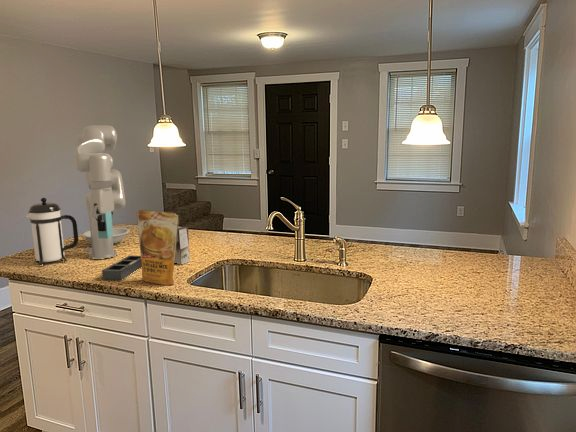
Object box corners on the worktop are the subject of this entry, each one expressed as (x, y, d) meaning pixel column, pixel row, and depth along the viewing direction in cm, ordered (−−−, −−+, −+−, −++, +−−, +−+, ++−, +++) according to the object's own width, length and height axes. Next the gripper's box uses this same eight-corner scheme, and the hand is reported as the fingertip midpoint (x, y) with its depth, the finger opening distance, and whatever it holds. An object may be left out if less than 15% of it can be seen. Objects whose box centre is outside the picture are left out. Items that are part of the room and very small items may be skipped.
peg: (98, 238, 182) (96, 211, 180) (104, 235, 186) (102, 209, 184) (107, 238, 181) (105, 211, 179) (113, 236, 185) (110, 210, 183)
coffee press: (55, 267, 197) (48, 200, 192) (24, 266, 200) (16, 199, 195) (81, 257, 214) (74, 194, 208) (52, 255, 217) (45, 194, 211)
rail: (102, 279, 179) (101, 269, 178) (129, 264, 200) (128, 255, 200) (121, 280, 178) (120, 270, 177) (146, 264, 199) (145, 255, 199)
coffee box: (191, 261, 203) (189, 227, 200) (181, 265, 197) (179, 229, 194) (175, 259, 207) (173, 225, 204) (165, 262, 202) (163, 228, 199)
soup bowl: (72, 248, 231) (70, 235, 230) (103, 237, 254) (102, 226, 252) (111, 251, 224) (110, 238, 223) (140, 240, 247) (139, 228, 246)
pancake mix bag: (147, 275, 183) (142, 208, 178) (184, 282, 175) (180, 211, 170) (135, 280, 177) (129, 211, 172) (172, 287, 169) (168, 214, 164)
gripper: (104, 182, 188) (108, 225, 191) (79, 187, 172) (84, 234, 175) (121, 183, 187) (124, 225, 190) (97, 187, 171) (101, 234, 174)
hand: (105, 229), depth 183 cm, fingers closed on peg, 4 cm apart
